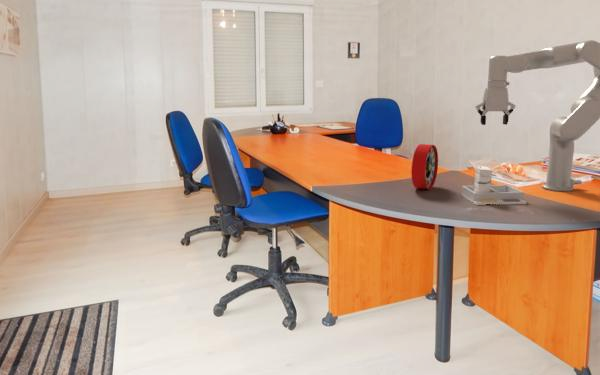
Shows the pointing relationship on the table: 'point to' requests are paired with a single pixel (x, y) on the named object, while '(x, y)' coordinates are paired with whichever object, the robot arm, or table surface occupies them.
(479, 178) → the ink box
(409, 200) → the table surface
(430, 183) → the toy clock
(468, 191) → the divided tray
